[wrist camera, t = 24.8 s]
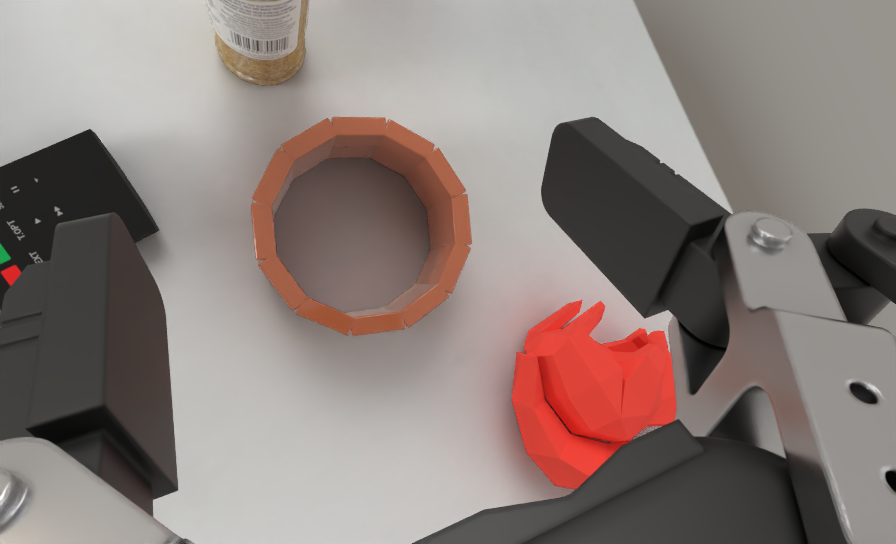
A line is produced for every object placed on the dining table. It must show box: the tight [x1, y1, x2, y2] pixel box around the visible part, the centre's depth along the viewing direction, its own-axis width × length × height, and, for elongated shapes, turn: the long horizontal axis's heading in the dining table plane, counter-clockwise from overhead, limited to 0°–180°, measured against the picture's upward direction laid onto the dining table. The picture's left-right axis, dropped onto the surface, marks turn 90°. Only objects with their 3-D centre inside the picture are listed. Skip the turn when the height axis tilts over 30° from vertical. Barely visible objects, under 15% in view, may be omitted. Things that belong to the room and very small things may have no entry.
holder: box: [251, 117, 472, 336], centre depth 26 cm, size 10×10×4 cm
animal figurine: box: [512, 300, 676, 489], centre depth 30 cm, size 12×15×5 cm
